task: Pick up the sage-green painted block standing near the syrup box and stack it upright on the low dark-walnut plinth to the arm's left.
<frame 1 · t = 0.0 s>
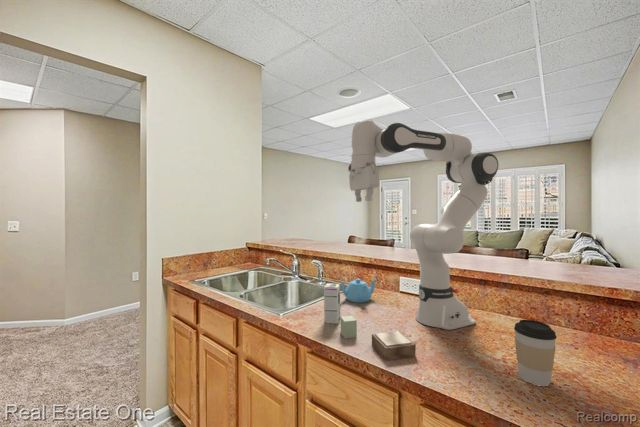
hand: (363, 201, 108), 48 cm above the worktop, fingers open, 8 cm apart
sage block: (348, 335, 103), on the worktop
plinth: (392, 350, 92), on the worktop
teapot: (358, 300, 142), on the worktop
coffee cup: (534, 379, 76), on the worktop
syrup box: (332, 321, 116), on the worktop
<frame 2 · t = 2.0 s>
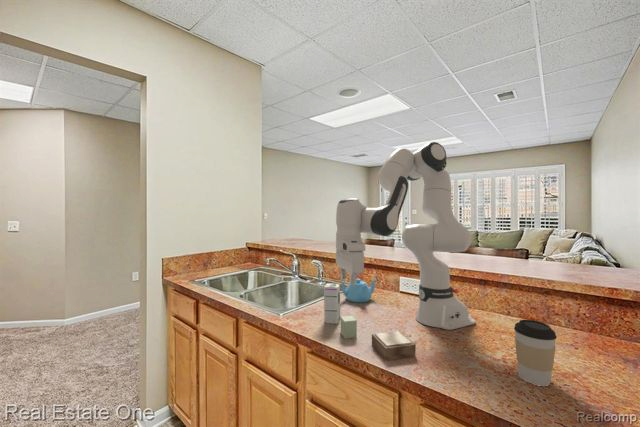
hand: (348, 282, 103), 19 cm above the worktop, fingers open, 8 cm apart
nothing on the worktop moved.
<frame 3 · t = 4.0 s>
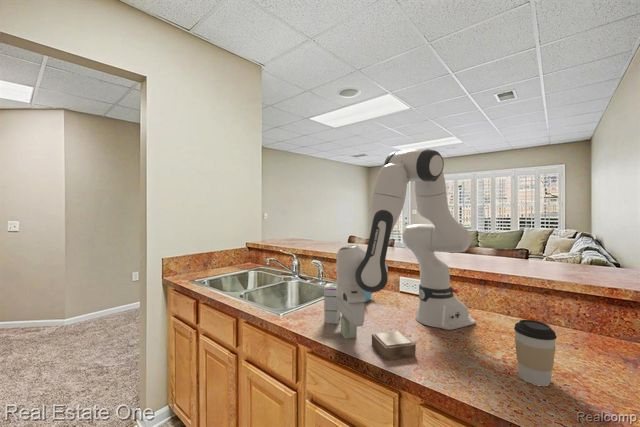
hand: (348, 329, 103), 2 cm above the worktop, fingers closed on sage block, 4 cm apart
sage block: (348, 335, 103), on the worktop, touching gripper
everything else where it was.
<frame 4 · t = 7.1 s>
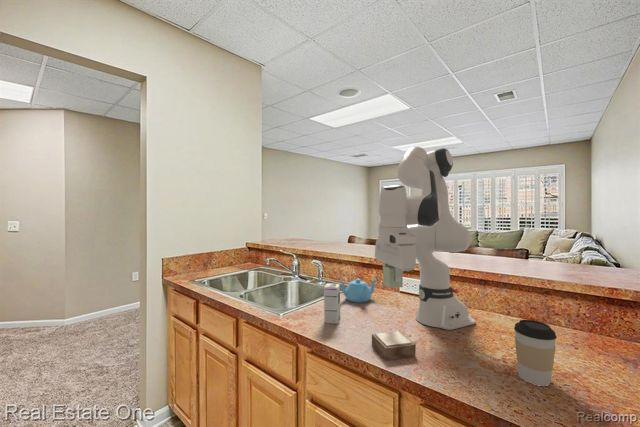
hand: (392, 279, 91), 23 cm above the worktop, fingers closed on sage block, 4 cm apart
sage block: (392, 285, 91), point 21 cm above the worktop, touching gripper
everything else where it was.
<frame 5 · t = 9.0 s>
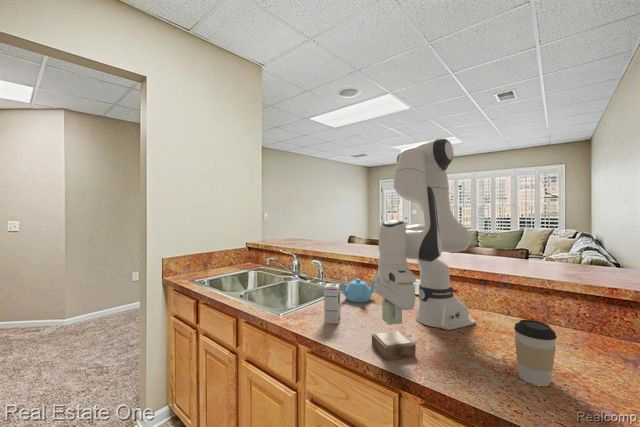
hand: (392, 314, 91), 11 cm above the worktop, fingers closed on sage block, 4 cm apart
sage block: (392, 321, 91), point 9 cm above the worktop, touching gripper
everything else where it was.
when the fingers open (7 cm above the worktop, at t = 10.3 s): sage block stays where it is, resting on plinth.
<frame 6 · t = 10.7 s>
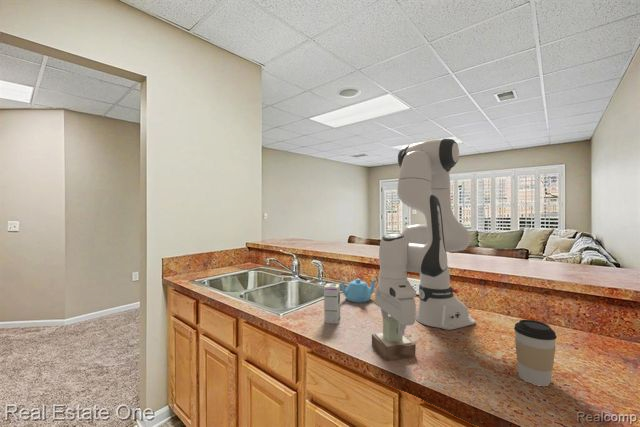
hand: (392, 328, 92), 7 cm above the worktop, fingers open, 8 cm apart
sage block: (392, 337, 92), point 4 cm above the worktop, touching plinth
everything else where it was.
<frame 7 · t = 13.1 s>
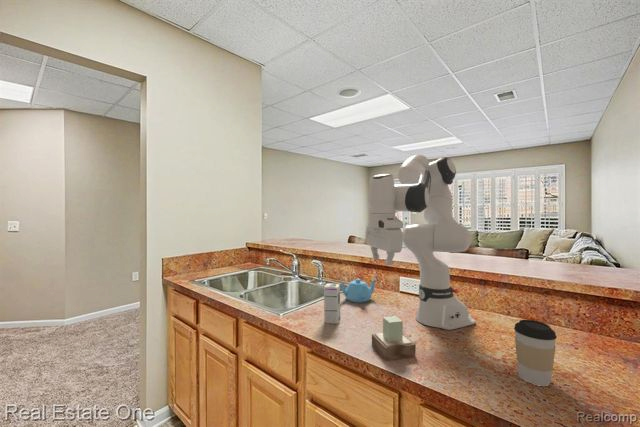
hand: (382, 261, 98), 27 cm above the worktop, fingers open, 8 cm apart
nothing on the worktop moved.
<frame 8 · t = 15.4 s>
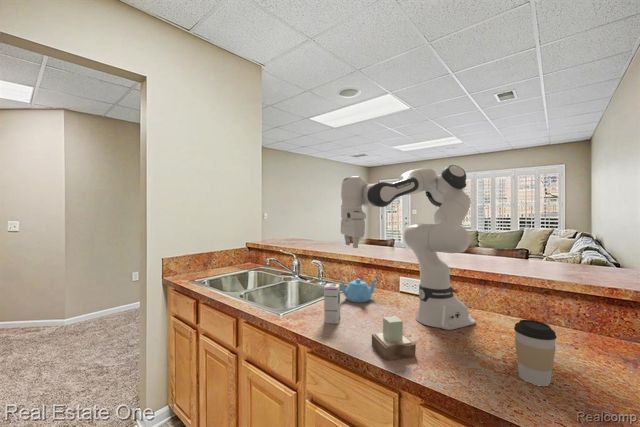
hand: (351, 246, 123), 29 cm above the worktop, fingers open, 8 cm apart
nothing on the worktop moved.
at the end: sage block inside the target area on the plinth (0.1 cm from its centre), point 4.0 cm above the plinth's base; sage block tilted 0°; the gripper is holding nothing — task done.
